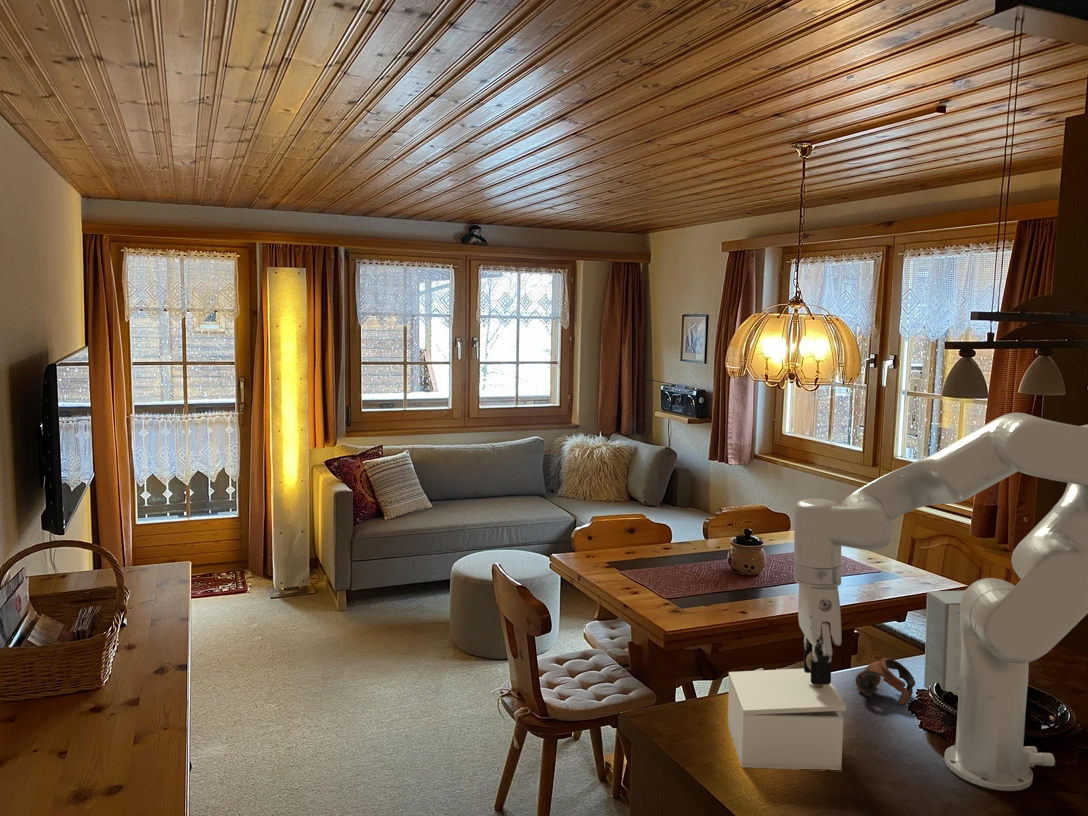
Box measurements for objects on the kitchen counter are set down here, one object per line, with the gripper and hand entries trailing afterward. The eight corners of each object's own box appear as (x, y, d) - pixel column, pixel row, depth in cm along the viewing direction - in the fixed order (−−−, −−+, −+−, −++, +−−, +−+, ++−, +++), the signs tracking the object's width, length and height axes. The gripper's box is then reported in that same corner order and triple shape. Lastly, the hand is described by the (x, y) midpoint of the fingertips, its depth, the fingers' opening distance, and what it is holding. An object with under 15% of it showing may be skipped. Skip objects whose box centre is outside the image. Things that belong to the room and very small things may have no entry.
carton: (817, 727, 142) (819, 680, 141) (841, 771, 128) (843, 718, 128) (727, 724, 143) (729, 677, 142) (741, 767, 130) (743, 715, 129)
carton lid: (821, 671, 141) (819, 634, 141) (846, 710, 127) (844, 668, 127) (728, 676, 143) (726, 639, 142) (743, 715, 128) (741, 673, 128)
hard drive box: (996, 684, 160) (1002, 589, 158) (1020, 702, 152) (1027, 602, 150) (921, 685, 160) (926, 589, 158) (941, 703, 152) (947, 603, 150)
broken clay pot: (872, 681, 162) (896, 653, 159) (904, 720, 155) (929, 691, 152) (834, 679, 156) (858, 650, 153) (865, 719, 149) (891, 689, 146)
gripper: (856, 588, 124) (855, 700, 126) (826, 558, 141) (825, 657, 142) (807, 589, 125) (807, 700, 126) (783, 559, 141) (783, 657, 143)
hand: (817, 676), depth 134 cm, fingers closed on carton lid, 3 cm apart
